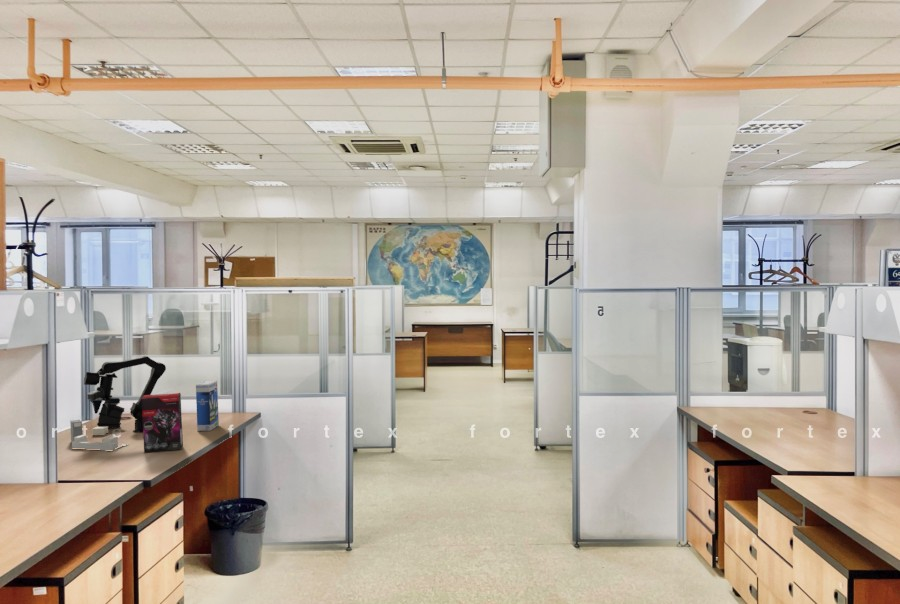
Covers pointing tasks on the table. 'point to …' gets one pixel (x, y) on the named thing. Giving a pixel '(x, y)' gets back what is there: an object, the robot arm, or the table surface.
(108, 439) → the rail plate
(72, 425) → the module
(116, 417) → the black flat block
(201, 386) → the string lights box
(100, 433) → the block
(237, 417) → the table surface
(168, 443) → the graphics card box
